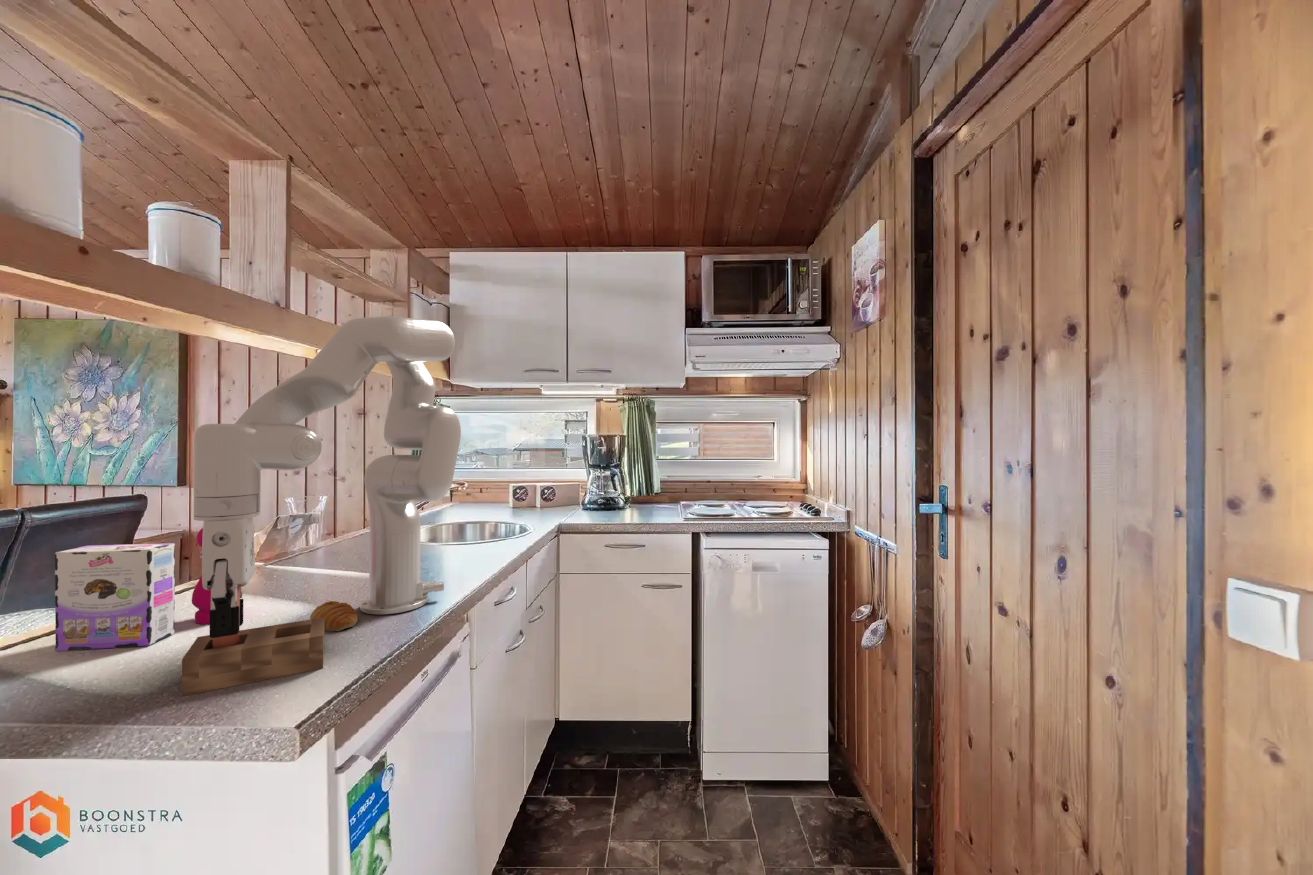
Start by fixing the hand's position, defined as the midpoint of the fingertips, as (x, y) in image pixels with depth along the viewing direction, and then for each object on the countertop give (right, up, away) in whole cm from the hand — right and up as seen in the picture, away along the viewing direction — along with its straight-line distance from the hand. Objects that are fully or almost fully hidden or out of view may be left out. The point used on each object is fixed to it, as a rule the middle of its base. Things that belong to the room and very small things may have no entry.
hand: (226, 630), depth 74 cm
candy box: (-29, -7, +12) cm, 32 cm away
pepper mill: (-22, -7, +23) cm, 32 cm away
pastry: (+3, -7, +21) cm, 22 cm away
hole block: (+3, -7, +2) cm, 8 cm away
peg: (0, -3, 0) cm, 3 cm away
